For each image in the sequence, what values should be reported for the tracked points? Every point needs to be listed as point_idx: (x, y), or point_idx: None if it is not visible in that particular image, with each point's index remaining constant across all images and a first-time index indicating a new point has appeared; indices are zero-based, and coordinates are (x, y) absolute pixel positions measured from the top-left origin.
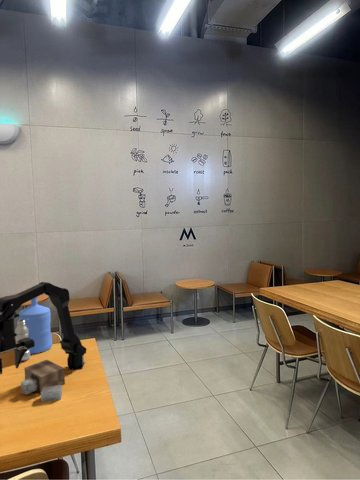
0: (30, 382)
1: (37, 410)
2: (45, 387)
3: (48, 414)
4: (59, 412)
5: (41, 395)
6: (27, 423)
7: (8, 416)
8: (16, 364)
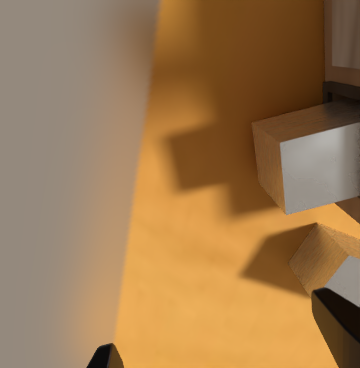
0: (325, 198)
1: (248, 311)
2: (357, 264)
3: (267, 351)
4: (300, 357)
5: (305, 288)
6: (189, 364)
7: (137, 293)
8: (346, 361)
